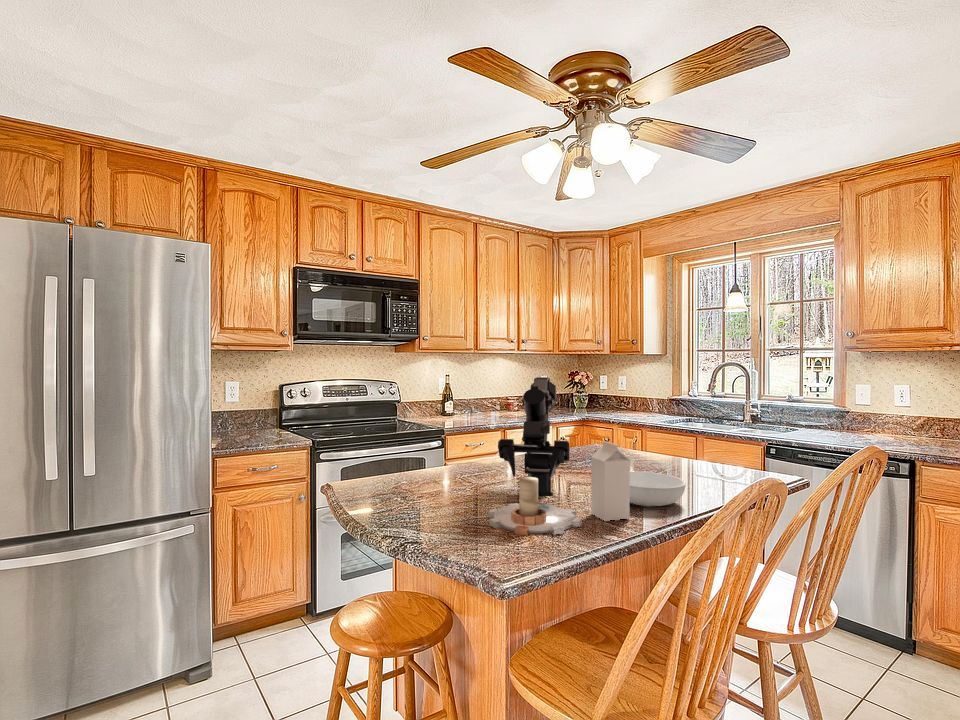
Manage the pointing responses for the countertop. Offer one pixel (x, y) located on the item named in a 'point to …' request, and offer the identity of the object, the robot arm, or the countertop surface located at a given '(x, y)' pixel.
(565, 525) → the sprocket wheel
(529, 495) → the drive pin
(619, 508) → the milk carton
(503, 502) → the countertop surface
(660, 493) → the serving bowl
